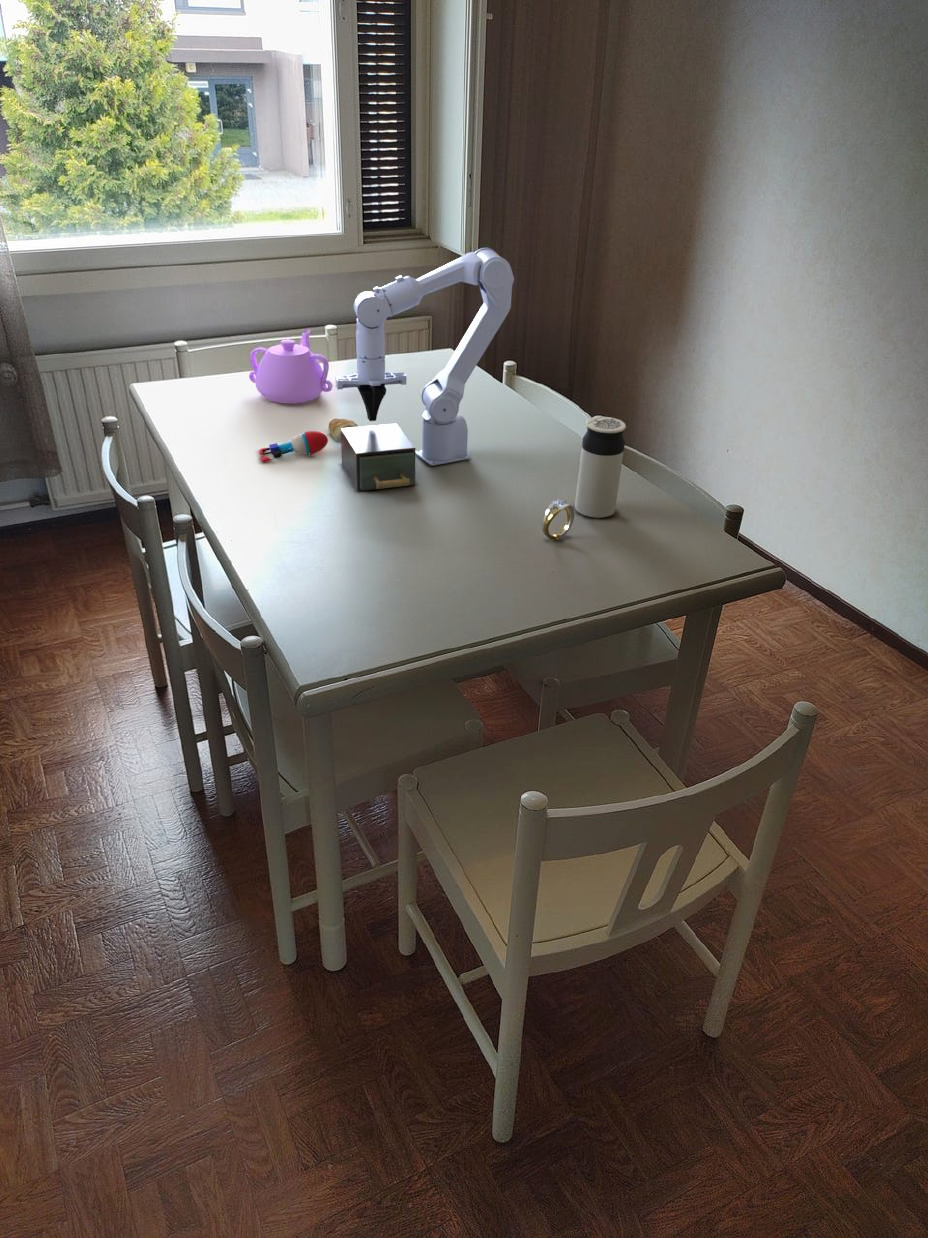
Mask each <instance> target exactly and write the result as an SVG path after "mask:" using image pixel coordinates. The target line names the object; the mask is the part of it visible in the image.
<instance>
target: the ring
mask: <svg viewBox="0 0 928 1238" xmlns="http://www.w3.org/2000/svg"><path fill="white" fill-rule="evenodd" d="M566 502H567V499H566V498H564V499H563V500H560V498H557V499H554V500H553V501H551V503H550V504H549V506H548V507H547V508H546V510H545V513H544V516H543V519H542V524H541V529H542V533H543V534H544V536H545V537H546V538H548V539H549V540H552V541H554V540H556V541H559V540H560V539H561V538H563V537H564V536H565V535H566V534H567V533H568V532H569V531H570V529H571V528H572V525H573V523H574V520H575V511H574V509H575V508H574V507H573V506H572V505H571V504H569V503H566ZM552 510H553V512H552ZM562 510H565V512H566V517H567V518H566V523H565V525H564V527H563V528H562V530H561V531H560V532H558V533H557V532H555V533H553V534H550V532H549V528H550V525H551V523H552V521H553V519H555V518H556V516H557V515H559V513H560V512H561V511H562Z"/></svg>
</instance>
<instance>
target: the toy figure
mask: <svg viewBox="0 0 928 1238" xmlns="http://www.w3.org/2000/svg"><path fill="white" fill-rule="evenodd" d="M328 442H329V438H328V435H326V434H325V433H323V432H321V431H317V430H308V431H304V433H303V432H302V433H301V434H296V435H294V436H293V437H292V438H291V441H289V442H284V443H281V444H278V443H277V442H275V443H270V444H268V446H269V447H262V448H260V449H259V450H258V454H259V455H260V460H261V463H267V462H270V461H272V460H273V458H274V459H281V458H282V456H283V455H286V454H289V453H295V454H296V455H301V456H302V455H310V456H311V455H314V454H317V453H319V452H320V451H321V452H322V450H324V449H325V448H326V446H327V445H328ZM267 455H272V456H273V458H270V457H268V456H267Z"/></svg>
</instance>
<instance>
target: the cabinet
mask: <svg viewBox="0 0 928 1238" xmlns="http://www.w3.org/2000/svg"><path fill="white" fill-rule="evenodd" d="M340 449H341V450H340V451H341V465H342V468H343V469H344V471H345V473H346V475H347V476H348V478H349V480H350V481H351V484H352V485H353V486H354V488H355V490H356V491H357V492H365V491H374V490H378V489H377V488H374V489H365V490H361V488H360V471H359V456H362V455H373V454H383V453H393V452H403V451H409V452H413V453H414V484H411V485H407V486H406V487H409V486H415V485H416V454H415V451H416V446H415V445H414V444H413V443H412V441H411V440H410V438H409V437H408V436H407V434H406V433H405V432H404V431H403V429H402V428H401V427H400V426H399V424H398V423H387V424H386V423H385V424H377V425H376V424H375V425H365V426H364V425H363V426H359V427H351V428H341V442H340ZM400 487H401V488H402V486H398V487H397V488H400ZM391 488H393V487H389V488H388V489H391ZM382 489H384V488H380V489H379V490H382Z"/></svg>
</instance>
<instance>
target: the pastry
mask: <svg viewBox="0 0 928 1238" xmlns="http://www.w3.org/2000/svg"><path fill="white" fill-rule="evenodd" d="M351 427H360V426H359V425H358V424H357V423H356V422H355V421H354V420H351V419H347V418H333V419H331V420H330V421H328V432H329V434H330V435H331V438H332V439H334V441H336V442H339V443H341V428H351Z"/></svg>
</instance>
